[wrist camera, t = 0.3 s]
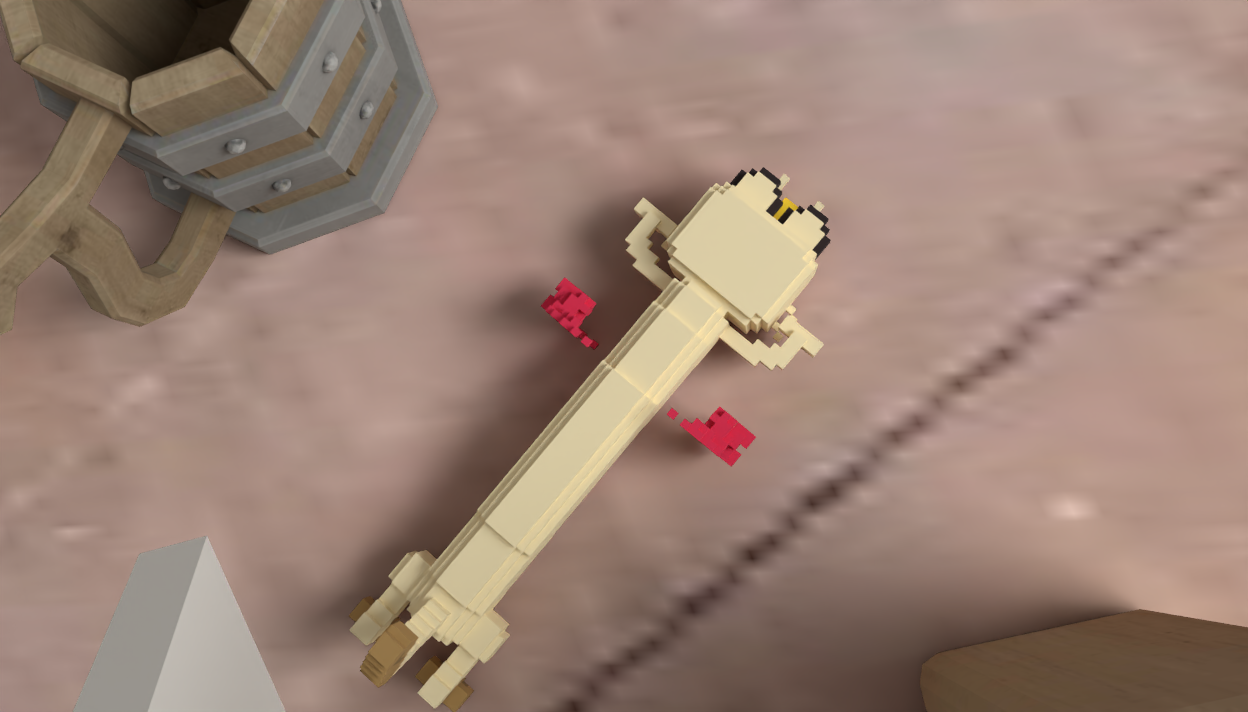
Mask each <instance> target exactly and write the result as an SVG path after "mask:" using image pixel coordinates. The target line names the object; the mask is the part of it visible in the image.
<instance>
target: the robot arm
mask: <svg viewBox="0 0 1248 712" xmlns="http://www.w3.org/2000/svg"><path fill="white" fill-rule="evenodd" d="M73 712H286V711H285V709H284V706H283V704H282V702H281V700H280V698H279V695H278V693H277V691H276V689H275V686H274V684H273V682H272V680H271V677H270V675H269V673H268V671H267V668H266V666H265V664H264V662H263V660H262V657H261V655H260V653H259V651H258V648H257V646H256V644H255V642H254V639H253V637H252V635H251V633H250V631H249V628H248V626H247V624H246V622H245V619H244V617H243V615H242V613H241V610H240V608H239V606H238V604H237V602H236V599H235V597H234V595H233V593H232V590H231V588H230V586H229V584H228V581H227V579H226V577H225V575H224V573H223V570H222V568H221V566H220V564H219V561H218V559H217V557H216V555H215V552H214V550H213V548H212V546H211V543H210V541H209V539H208V537H207V536H204V537H200V538H196V539H193V540H189V541H185V542H182V543H178V544H174V545H170V546H167V547H163V548H159V549H156V550H152V551H148V552H144V553H141V554H139V556H138V559H137V561H136V563H135V566H134V568H133V570H132V573H131V575H130V578H129V580H128V582H127V585H126V587H125V589H124V592H123V594H122V597H121V599H120V601H119V604H118V606H117V608H116V611H115V613H114V615H113V618H112V620H111V623H110V625H109V627H108V630H107V632H106V634H105V637H104V639H103V641H102V644H101V646H100V649H99V651H98V653H97V656H96V658H95V660H94V663H93V665H92V667H91V670H90V672H89V675H88V677H87V679H86V682H85V684H84V686H83V689H82V691H81V694H80V696H79V698H78V701H77V703H76V705H75V708H74V710H73Z"/></svg>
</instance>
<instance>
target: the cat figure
mask: <svg viewBox="0 0 1248 712" xmlns="http://www.w3.org/2000/svg"><path fill="white" fill-rule="evenodd" d="M789 180H790V178H789V177H788V176H786V175H785V174H783V175H782V177H781V178H780V179H778V178H776V177H775V176H774V175H773V174H771V173H770V172H769V171H768V170H766V169H765V168H764V167H763V168H762V169H761V171H760V172H759V171H758V172H757V171H755V170H754V169H753V168H752V170H751V171H750V172H749V173H746V172H745V171H743V170H741V171H740V172H739V174H738V175H737V176H736V177H735V178H734V179H733V181H732V182H731V183H730V184H729V183H728V182H726V183H725V184H724V186H719V185H718V184H717V183H715V185H714V186H713V187H712V188H711V187H710V188H709V190H708V191H707V192H706V193H705V194H704V196H703V197H702V198H701V199H700V200H699V202H698V203H697V204H696V205H695V206H694V208H693V209H692V210H691V211H690V212H689V214H688V215H687V216H686V217H685V218H684V219H683V221H682V222H681V223H680V224H679V225H677V224H675V223H674V222H673V221H672V220H670V219H669V218H668V217H667V216H666V215H664V214H663V213H662V212H661V211H659V210H658V209H657V208H656V207H654V206H653V205H652V204H651V203H650V202H648V201H647V200H646V199H645V198H642V200H641V201H640V202H639V203H638V204H637V206H636V207H635V208H634V210H635V212H636V214H637V215H639V216H640V217H641V218H642V220H641V221H640V222H639V224H638V225H637V226H636V227H635V228H634V230H633V231H632V232H631V233H630V234H629V236H628V237H627V238H626V239H625V240H626V242H627V243H628V244H629V245H630V246H629V247H628V248H627V249H626V251H627V253H629V254H630V255H631V256H632V257H633V258H635V259H636V260H637V261H636V262H635V263H634V264H633V267H634V268H635V269H636V270H638V271H639V272H640V273H641V274H642V275H644V276H645V277H646V278H647V279H648V280H650V281H651V282H652V283H653V284H654V285H656V286H657V287H658V288H659V289H661V290H662V291H663V292H662V293H661V295H660V296H659V297H658V298H657V299H656V301H653V302H652V304H651V305H650V306H649V307H648V308H647V310H646V311H645V312H644V313H643V314H642V315H641V317H640V318H639V319H638V320H637V321H636V323H635V324H634V325H633V326H632V327H631V329H630V330H629V331H628V332H627V333H626V335H625V336H624V337H623V338H622V339H621V341H620V342H619V343H618V344H617V345H616V347H615V348H614V349H613V350H612V351H611V352H610V354H609V355H608V356H607V357H606V358H605V360H602V361H601V363H600V364H599V365H598V366H597V367H596V369H595V370H594V371H593V372H592V373H591V375H590V376H589V377H588V378H587V379H586V380H585V382H584V383H583V384H582V385H581V386H580V388H579V389H578V390H577V391H576V392H575V394H574V395H573V396H572V397H571V398H570V400H569V401H568V402H567V403H566V404H565V406H564V407H563V408H562V409H561V410H560V412H559V413H558V414H557V415H556V416H555V417H554V419H553V420H552V421H551V422H550V423H549V425H548V426H547V427H546V428H545V429H544V431H543V432H542V433H541V434H540V435H539V437H538V438H537V439H536V440H535V441H534V443H533V444H532V445H531V446H530V447H529V449H528V450H527V451H526V452H525V453H524V454H523V456H522V457H521V458H520V459H519V460H518V462H517V463H516V464H515V465H514V466H513V468H512V469H511V470H510V471H509V472H508V474H507V475H506V476H505V477H504V478H503V480H502V481H501V482H500V483H499V484H498V485H497V487H496V488H495V489H494V490H493V491H492V493H491V494H490V495H489V496H488V497H487V499H486V500H485V501H484V502H483V503H482V505H481V506H480V507H479V508H478V509H477V512H476V514H475V515H474V516H473V517H472V518H471V520H470V521H469V522H468V523H467V524H466V525H465V527H464V528H463V529H462V530H461V531H460V533H459V534H458V535H457V536H456V537H455V539H454V540H453V541H452V542H451V543H450V545H449V546H448V547H447V548H446V549H445V551H444V552H443V553H442V554H441V555H440V557H439V558H438V559H436V558H435V557H434V556H433V555H432V554H430V553H429V552H428V551H427V550H424V551H420V552H417V551H413V552H409V553H407V554H406V555H405V557H404V558H403V559H402V560H401V561H400V563H399V564H398V565H397V566H396V567H395V569H394V570H393V571H392V572H391V573H390V574H389V576H388V577H389V578H390V579H391V580H393V581H392V584H391V585H390V586H389V587H388V589H387V590H386V591H385V592H384V593H383V595H382V596H381V597H380V598H379V599H377V600H376V601H375V600H374V599H373V598H372V597H371V596H369V597H366V598H363V599H362V600H361V602H360V603H359V604H358V605H357V606H356V608H355V609H354V610H353V611H352V612H351V613H350V615H349V617H350V618H351V619H352V620H354V621H355V622H356V623H355V624H354V625H353V626H352V628H351V629H350V630H349V631H351V632H352V633H353V634H354V635H355V636H356V637H357V638H358V639H359V640H360V641H361V642H363V643H364V644H365V645H366V646H367V645H369V644H371V643H373V642H375V641H376V643H375V644H374V645H373V647H372V648H371V649H370V650H369V651H368V654H367V656H366V659H365V660H364V661H363V664H362V665H361V667H360V668H361V670H360V671H361V672H362V673H363V674H364V675H365V676H366V677H367V678H368V679H369V680H370V681H372V682H373V683H374V684H375V685H376V686H377V687H378V688H379V687H380V686H382V685H384V684H385V683H386V682H387V681H388V680H389V679H390V678H391V677H392V676H393V675H394V674H395V673H396V672H397V671H398V670H399V669H400V668H401V667H402V666H403V665H404V664H405V663H406V661H408V660H409V659H410V658H411V657H412V656H413V654H414V653H415V652H416V651H417V650H418V649H419V647H421V646H422V645H423V644H424V643H425V642H426V640H428V639H429V638H430V637H431V636H433V637H434V638H435V639H436V640H437V641H438V642H439V641H442V642H443V643H444V644H445V645H446V646H447V645H449V644H451V643H452V642H454V643H456V644H457V645H458V644H460V645H459V646H458V647H457V648H456V650H455V651H454V652H453V653H452V654H451V656H450V657H449V658H448V659H447V660H446V661H445V662H444V663H443V662H442V661H441V660H440V659H439V658H438V657H437V656H434V657H432V658H431V659H429V660H428V661H427V663H426V664H425V665H424V666H423V667H422V669H421V670H420V671H419V672H418V673H417V675H416V676H415V677H416V678H417V679H418V680H419V681H420V682H421V683H422V684H423V685H424V686H423V687H422V688H421V689H420V690H419V692H418V694H419V695H420V696H421V697H422V698H423V699H424V700H426V701H427V702H428V703H429V704H430V705H431V706H432V707H433V708H434V709H435V708H436V707H438V706H439V705H440V704H441V703H444V704H445V705H446V706H447V707H448V708H449V709H451V710H452V711H453V712H455V711H457V710H458V709H459V708H460V707H461V706H462V705H463V703H464V702H465V701H466V700H467V699H468V697H469V696H470V695H471V694H472V693H473V691H474V690H473V689H472V688H471V687H469V686H468V685H467V684H466V683H465V682H464V680H465V679H466V678H465V676H466V675H467V674H468V673H469V671H470V670H471V669H472V668H473V667H474V665H475V664H476V663H477V662H478V661H479V660H481V661H482V662H483V663H485V662H487V661H488V660H489V659H491V658H492V656H493V655H494V654H495V653H496V652H497V650H498V649H499V648H500V647H501V646H502V645H503V643H504V642H505V641H506V640H507V639H508V637H509V636H510V634H508V633H507V632H506V631H505V630H506V628H507V627H508V626H509V623H507V622H506V621H505V620H504V619H503V618H502V617H501V616H500V615H499V614H497V613H496V612H495V611H494V610H493V608H494V607H495V606H496V605H497V604H498V602H499V601H500V600H501V599H502V598H503V596H504V595H505V594H506V593H507V591H508V589H509V588H510V587H511V586H512V585H513V584H514V582H515V581H516V580H517V579H518V578H519V576H520V575H521V574H522V573H523V572H524V570H525V569H526V568H527V567H528V566H529V564H530V563H531V562H532V561H533V560H534V558H535V557H536V556H537V555H538V554H539V553H540V551H541V550H542V549H543V548H544V547H545V545H546V544H547V543H548V542H549V541H550V539H551V538H552V537H553V536H554V534H555V532H556V531H557V530H558V529H559V528H560V526H561V525H562V524H563V523H564V522H565V521H566V519H567V518H568V517H569V516H570V515H571V513H572V512H573V511H574V510H575V509H576V507H577V506H578V505H579V504H580V503H581V501H582V500H583V499H584V498H585V497H586V495H587V494H588V493H589V492H590V491H591V490H592V488H593V487H594V486H595V485H596V484H597V482H598V481H599V480H600V479H601V478H602V476H603V475H604V474H605V473H606V472H607V470H608V469H609V468H610V467H611V466H612V464H613V463H614V462H615V461H616V460H617V459H618V457H619V456H620V455H621V454H622V453H623V451H624V450H625V449H626V448H627V447H628V445H629V444H630V443H631V442H632V441H633V439H634V438H635V437H636V436H637V435H638V433H639V432H640V431H641V430H642V429H643V428H644V426H645V425H647V424H648V423H649V421H650V420H651V419H652V418H653V417H654V415H655V414H656V413H657V412H658V411H659V409H660V408H661V407H662V406H663V405H664V404H665V402H666V401H667V400H668V399H669V398H670V396H671V395H672V394H673V393H674V392H675V390H676V389H677V388H678V387H679V386H680V384H681V383H682V382H683V381H684V380H685V378H686V377H687V376H688V375H689V374H690V373H691V371H692V370H693V369H694V368H695V367H696V366H697V365H698V364H699V363H700V362H701V360H702V359H703V358H704V357H705V356H706V354H707V353H708V352H709V351H710V350H711V348H712V347H713V346H714V345H715V344H716V343H717V341H718V340H719V339H721V340H722V341H724V342H725V343H726V344H727V345H728V346H730V347H731V348H732V349H733V350H734V351H736V352H737V353H738V354H739V355H741V356H742V357H743V358H744V359H745V360H747V361H748V362H749V363H750V364H751V365H753V366H754V367H756V365H757V364H758V363H759V362H761V363H762V364H763V365H765V366H766V367H767V368H768V369H769V370H771V371H772V370H773V369H774V368H775V366H776V365H777V366H778V367H779V368H780V369H781V370H783V369H784V368H785V366H786V365H787V364H788V363H789V362H790V360H791V359H792V358H793V357H794V356H795V354H796V353H797V352H798V351H799V350H800V349H803V350H804V351H805V352H806V353H808V354H809V355H810V356H811V357H812V358H813V357H814V356H815V355H816V354H817V352H818V351H819V350H820V349H821V348H822V346H823V345H824V344H823V343H822V342H821V341H819V340H818V339H817V338H816V337H814V336H813V335H812V334H811V333H809V332H808V331H807V330H806V329H805V328H803V327H802V326H801V325H800V324H798V323H797V322H796V321H797V319H796V318H795V317H794V316H793V315H792V314H793V313H794V312H795V311H796V308H794V307H793V306H792V305H791V304H792V302H793V301H794V300H795V299H796V298H797V296H798V295H799V294H800V293H801V292H802V290H803V289H804V288H805V287H806V286H807V284H808V283H809V282H810V280H811V279H812V278H813V277H814V275H815V273H816V270H817V267H818V264H817V263H815V260H816V258H817V257H818V256H819V255H820V254H821V253H822V251H823V250H824V249H825V248H826V247H827V245H828V244H829V243H830V239H829V238H827V237H826V235H827V234H828V232H829V230H830V229H828V228H827V227H826V226H825V224H826V223H827V222H828V218H827V217H826V216H824V215H823V214H822V213H821V212H820V211H821V210H822V209H823V207H824V205H823V204H822V203H820V202H819V201H818V202H817V203H816V204H815V206H814V207H813V206H812V205H810V206H809V207H808V208H807V209H806V210H805V209H803V208H802V207H801V206H799V207H797V206H796V205H795V204H793V203H792V202H791V201H790V200H788V199H787V198H786V197H785V199H784V200H783V201H781V200H780V199H779V198H780V196H781V195H782V191H781V189H782V188H783V187H784V186H785V185H786V183H787V182H788V181H789ZM655 231H657V232H658V233H661V234H662V235H663V236H664V237H666V238H667V240H665V241H664V242H663V244H662V245H661V247H662V248H663V249H665V250H666V251H667V252H668V255H669V257H670V260H669V261H668V263H669V266H670V268H671V270H672V272H673V274H674V276H676V277H677V278H678V279H679V280H681V281H682V282H679V281H678V280H677V279H676V278H674V279H672V278H671V277H670V276H669V275H667V274H666V273H665V272H664V271H663V270H661V269H660V268H659V267H658V266H657V265H656V264H657V263H658V261H659V260H660V259H659V257H657V256H656V255H655V254H654V253H653V252H651V251H650V250H649V249H650V248H651V247H652V246H653V243H652V242H651V241H650V240H649V238H650V237H651V235H652V234H653V233H654V232H655ZM555 289H556V290H557V291H558V292H557V294H556V295H555V296H554V297H553V296H552V295H550V296H549V297H548V298H547V299H546V300H545V301H544V303H543V304H542V305H541V307H542V308H544V309H545V310H546V312H547V313H548V314H550V315H551V316H552V317H553V318H554V319H555V320H556V321H558V322H559V323H560V324H561V325H562V326H563V327H564V328H565V329H567V330H568V331H569V332H570V333H571V334H572V335H573V336H575V337H576V338H577V337H579V338H580V339H582V341H581V342H582V343H583V344H584V345H585V346H586V347H589V346H590V347H592V348H593V349H595V348H596V347H597V346H598V345H599V344H598V343H597V342H596V341H595V340H591V339H589V338H588V337H587V334H586V333H585V332H584V331H583V330H581V329H580V328H579V326H580V325H581V324H582V323H583V322H582V321H583V320H584V318H585V317H586V316H589V315H590V313H591V312H592V311H593V310H592V309H593V308H594V306H595V305H596V303H595V302H594V301H593V300H592V299H591V298H589V297H588V296H587V295H586V294H585V293H584V292H582V291H581V290H580V289H579V288H577V287H576V286H575V285H573V284H572V283H571V282H570V281H569V280H567V279H566V278H564V279H563V280H562V281H561V282H560V284H559V285H558V286H557V287H556V288H555ZM785 311H786V312H788V313H789V314H790V315H791V316H789V315H788V316H787V317H786V318H785V320H784V321H783V322H782V323H781V324H779V323H778V322H777V320H778V319H779V318H780V317H781V315H782V314H783V313H784V312H785ZM726 319H728V320H729V321H731V322H732V323H733V324H734V325H735V326H737V327H738V328H739V329H740V330H741V331H743V332H744V333H745V334H747V333H748V332H749V331H750V330H751V329H752V330H753V331H754V332H755V333H758V331H759V330H760V329H763V330H765V331H766V332H768V331H769V330H770V329H771V328H773V329H774V330H775V331H776V332H777V333H776V334H775V335H774V336H773V339H775V340H776V341H777V342H779V341H780V340H781V339H782V338H783V336H782V335H781V334H780V333H779V332H778V331H781V332H782V333H783V334H784V335H786V336H787V337H788V339H787V340H786V342H785V343H784V344H783V345H782V346H781V347H779V346H778V345H777V344H776V343H774V344H773V345H772V346H771V348H768V347H767V346H766V345H765V344H764V343H762V342H761V341H760V340H759V339H757V340H756V342H755V343H754V344H751V343H750V342H749V341H748V340H747V339H745V338H744V337H743V336H742V335H740V334H739V333H738V332H737V331H736V330H734V329H733V328H732V327H731V326H730V325H729V322H728V321H727V320H726ZM678 414H679V413H677V412H676V411H675V410H674V409H673V408H671V410H670V411H669V412H668V413H667V415H668V416H669V417H670V418H672V419H673V420H674V418H675V417H676V416H677V415H678ZM737 422H738V421H737V420H735V419H734V418H733V417H732V416H731V415H730V414H728V413H727V412H726V411H725V410H723V409H722V408H721V407H719V408H718V409H717V410H716V411H715V412H714V413H713V414H712V415H711V417H710V418H709V420H708V421H707V422H706V423H705V424H703V423H702V422H701V421H700V420H699V419H697V418H696V419H695V421H694V422H693V423H689V422H688V421H687V420H686V419H684V420H683V422H682V423H681V424H680V426H681V427H683V428H684V429H685V430H686V431H688V432H689V433H690V434H691V435H692V436H694V437H695V438H696V439H697V440H698V441H700V442H701V443H702V444H704V445H705V446H706V447H707V448H708V449H709V450H711V451H712V452H713V453H714V454H716V455H717V456H718V457H720V458H721V459H723V460H724V461H725V462H726V463H728V464H729V465H730V466H732V465H733V464H734V463H735V462H736V461H737V459H738V458H739V457H740V456H741V454H740V453H739V452H737V451H736V449H737V448H738V446H739V445H740V444H741V445H742V446H743V447H744V448H746V449H747V447H748V446H749V445H750V444H751V443H752V441H753V440H754V439H755V438H756V437H755V436H754V435H753V434H752V433H751V432H749V431H748V430H747V429H746V428H745V427H743V426H742V425H741V424H740V423H739V422H738V423H737ZM736 423H737V424H736ZM733 427H734V428H733ZM409 603H410V604H409ZM408 604H409V605H410V606H409V607H408V608H407V610H408V611H409V612H410V613H411V615H410V616H411V617H412V618H411V619H410V620H409V621H407V622H406V623H405V624H403V623H402V622H401V621H399V620H400V618H399V617H398V616H399V615H400V613H401V612H402V611H403V610H404V609H405V607H406V606H407V605H408Z"/></svg>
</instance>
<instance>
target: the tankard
mask: <svg viewBox="0 0 1248 712" xmlns="http://www.w3.org/2000/svg"><path fill="white" fill-rule="evenodd" d="M0 16H1V19H2V23H3V26H4V30H5V33H6V37H7V40H8V44H9V47H10V50H11V54H12V57H13V60H14V61H15V62H17V63H18V64H20V65H21V66H20V68H21V69H22V70H24V71H25V72H27V73H28V74H30V75H31V76H32V77H33V79H34V83H35V86H36V89H37V93H38V96H39V100H40V103H41V105H43V106H44V107H46V108H47V109H49V110H50V111H52V112H53V113H55V114H56V115H58V116H59V117H61V118H62V119H64V120H65V121H67V123H66V125H65V127H64V129H63V130H62V132H61V134H60V136H59V138H58V140H57V142H56V144H55V146H54V148H53V150H52V152H51V153H50V155H49V157H48V159H47V161H46V163H45V165H44V167H43V169H42V170H41V171H40V172H39V174H38V175H37V176H36V177H35V178H34V179H33V180H32V181H31V182H30V184H29V185H28V186H27V187H26V188H25V189H24V190H23V191H22V192H21V194H20V195H19V196H18V197H17V198H16V199H15V200H14V201H13V203H12V204H11V205H10V206H9V207H8V208H7V209H6V210H5V211H4V213H3V214H2V215H1V216H0V335H2V334H4V333H6V332H8V331H10V330H12V326H13V318H14V310H15V302H16V294H17V287H18V286H19V285H20V284H21V283H22V282H23V281H24V280H25V279H26V278H27V277H28V276H29V275H30V274H31V273H32V272H33V271H34V270H35V269H37V268H38V267H39V266H40V265H41V264H42V263H43V262H44V261H45V260H46V259H47V258H48V257H49V256H50V257H51V258H53V259H54V260H56V261H57V262H59V263H60V264H62V265H63V266H65V267H66V268H67V270H68V271H69V273H70V275H71V276H72V278H73V279H74V281H75V283H76V284H77V286H78V288H79V289H80V291H81V292H82V294H83V296H84V297H85V299H86V301H87V302H88V304H89V305H90V307H91V309H93V310H95V311H97V312H99V313H101V314H104V315H106V316H108V317H110V318H112V319H115V320H118V321H122V322H125V323H129V324H132V325H136V326H139V327H140V326H143V325H145V324H147V323H150V322H152V321H154V320H156V319H159V318H161V317H163V316H165V315H168V314H170V313H172V312H174V311H176V310H179V309H181V308H183V307H185V306H186V304H187V302H188V301H189V299H190V298H191V296H192V294H193V293H194V291H195V289H196V288H197V286H198V285H199V283H200V281H201V280H202V278H203V277H204V275H205V273H206V272H207V270H208V269H209V267H210V265H211V264H212V262H213V260H214V259H215V256H216V254H217V252H218V250H219V248H220V246H221V244H222V242H223V239H224V237H225V235H226V234H227V235H229V236H231V237H233V238H235V239H238V240H240V241H242V242H244V243H246V244H248V245H251V246H253V247H255V248H257V249H259V250H261V251H263V252H266V253H268V254H273V253H276V252H279V251H281V250H284V249H287V248H289V247H292V246H295V245H298V244H300V243H303V242H306V241H309V240H311V239H314V238H317V237H320V236H322V235H325V234H328V233H331V232H333V231H336V230H339V229H341V228H344V227H347V226H350V225H352V224H355V223H358V222H361V221H363V220H366V219H369V218H372V217H374V216H377V215H380V214H383V213H384V212H385V210H386V208H387V206H388V204H389V202H390V201H391V199H392V197H393V195H394V193H395V191H396V189H397V187H398V185H399V183H400V181H401V179H402V177H403V175H404V173H405V171H406V169H407V167H408V165H409V163H410V161H411V159H412V157H413V155H414V153H415V151H416V149H417V147H418V145H419V143H420V141H421V139H422V137H423V135H424V133H425V131H426V129H427V127H428V125H429V123H430V121H431V119H432V117H433V115H434V113H435V111H436V109H437V107H438V105H437V102H436V99H435V96H434V93H433V91H432V88H431V85H430V82H429V79H428V76H427V73H426V71H425V68H424V65H423V62H422V59H421V56H420V53H419V51H418V48H417V45H416V42H415V39H414V36H413V33H412V31H411V28H410V25H409V22H408V19H407V16H406V14H405V11H404V8H403V5H402V2H401V0H0ZM116 155H119V156H120V157H122V158H123V159H125V160H126V161H128V162H129V163H131V164H132V165H134V166H136V167H138V168H140V169H142V170H144V173H145V176H146V179H147V182H148V186H149V189H150V192H151V196H152V198H153V199H155V200H157V201H158V202H160V203H161V204H163V205H165V206H167V207H169V208H171V209H173V210H175V211H177V212H179V213H182V214H181V217H180V219H179V221H178V223H177V226H176V228H175V230H174V233H173V235H172V237H171V239H170V241H169V243H168V244H167V246H166V247H165V248H164V250H163V251H162V253H161V254H160V255H159V257H158V258H157V260H156V261H155V262H154V264H152V265H149V266H146V267H143V268H140V267H139V265H138V263H137V261H136V259H135V257H134V255H133V253H132V251H131V249H130V247H129V245H128V243H127V241H126V240H125V238H124V236H123V234H122V232H121V230H120V228H119V227H117V226H116V225H115V224H114V223H112V222H111V221H110V220H108V219H107V218H106V217H105V216H103V215H102V214H101V213H100V212H98V211H97V210H96V209H95V208H93V207H92V206H91V205H90V204H89V203H90V201H91V199H92V198H93V196H94V194H95V192H96V190H97V189H98V187H99V185H100V183H101V182H102V180H103V178H104V176H105V174H106V173H107V171H108V169H109V167H110V166H111V164H112V162H113V160H114V158H115V157H116Z"/></svg>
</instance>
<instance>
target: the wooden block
mask: <svg viewBox="0 0 1248 712" xmlns="http://www.w3.org/2000/svg"><path fill="white" fill-rule="evenodd" d="M920 687H921V691H922V695H923V699H924V704H925V708H926V712H1248V627H1242V626H1236V625H1230V624H1224V623H1218V622H1212V621H1206V620H1201V619H1195V618H1189V617H1183V616H1177V615H1171V614H1165V613H1159V612H1153V611H1147V610H1142V609H1139V610H1135V611H1130V612H1125V613H1121V614H1116V615H1112V616H1107V617H1102V618H1098V619H1093V620H1088V621H1084V622H1079V623H1074V624H1070V625H1065V626H1060V627H1056V628H1051V629H1047V630H1042V631H1037V632H1033V633H1028V634H1023V635H1019V636H1014V637H1009V638H1005V639H1000V640H995V641H991V642H986V643H982V644H977V645H972V646H968V647H963V648H958V649H954V650H949V651H944V652H940V653H937V654H936V655H935V656H933V657H932V658H930V659H929V660H928V661H926V662H925V663H923V664H922V671H921V678H920Z"/></svg>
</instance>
